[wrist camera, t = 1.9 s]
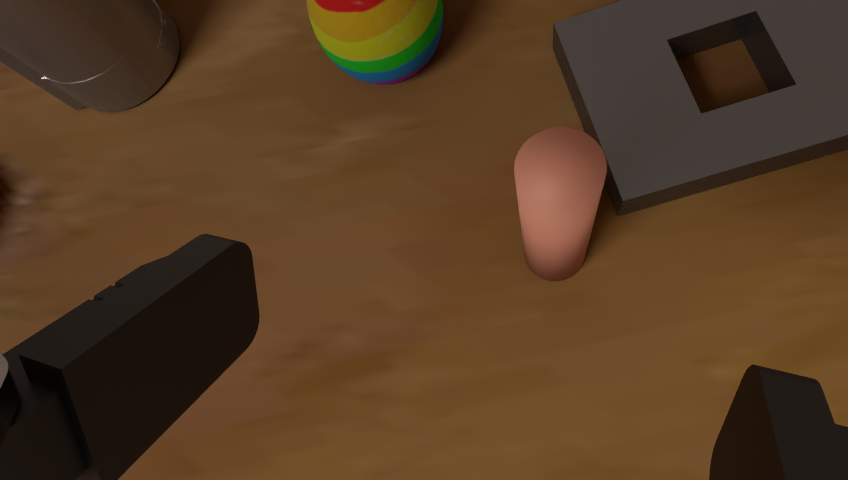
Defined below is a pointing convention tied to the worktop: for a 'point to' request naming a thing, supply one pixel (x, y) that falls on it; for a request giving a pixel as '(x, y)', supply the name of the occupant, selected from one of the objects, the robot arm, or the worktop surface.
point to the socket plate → (675, 105)
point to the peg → (558, 199)
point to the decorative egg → (378, 36)
